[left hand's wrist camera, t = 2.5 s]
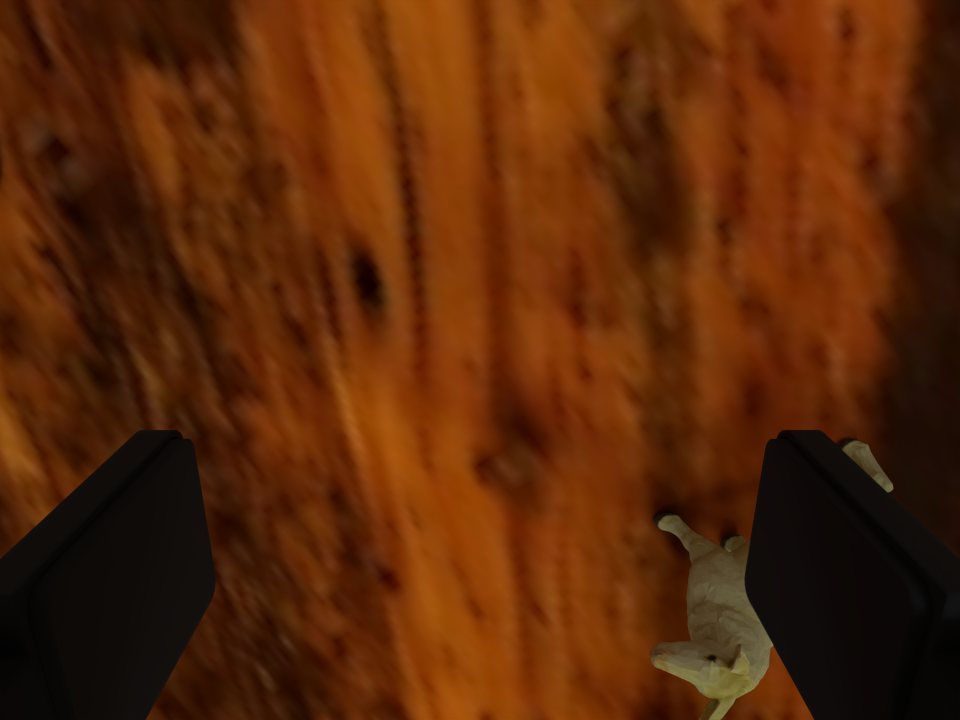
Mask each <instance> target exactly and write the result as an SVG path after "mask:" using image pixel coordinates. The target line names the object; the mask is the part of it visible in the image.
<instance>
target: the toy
mask: <svg viewBox="0 0 960 720" xmlns="http://www.w3.org/2000/svg"><path fill="white" fill-rule="evenodd" d="M838 447H840V448H841V449H842V450H843V451H844V452H845V453H846V454H847V455H848V456H849V457H850V458H851V459H852V460H854V461H855V462H856V463H857V464H858V465H859V466H860V467H861V468H862V469H863V470H864V471H865V472H866V473H867V474H869V475H870V476H871V477H872V478H873V479H874V480H875V481H876V482H877V483H878V484H879V485H880V486H881V487H883V488H884V489H885V490H886V491H887V492H891V490H892V489H893V484H892V483H891V481H890V480H889V479H888V477H887V476H886V475H885V473H884V472H883V470H882V469H881V468H880V466H879V465H878V463H877V462H876V460H875V458H874V457H873V455H872V453H871V452H870V449H869V446H868V444H865V443H862V442H859V441H856V440H852V439H847V440H845V441H843V442H841V444H840V445H839V446H838ZM654 523H655V525H656V526H657V527H658V528H660V529H662V530H665V531H669V532H672V533H673V534H675V535H676V536H677V537H678V538H680V539H681V541H682V543H683V545H684V547H685V548H686V549H687V550H688V551H689V554H690V560H691V562H692V565H691V568H690V572H689V578H688V587H687V606H688V608H687V614H688V624H687V625H688V628H689V634H690V635H691V640H690V641H685V642H672V643H671V642H660V643H658V644H657V645H656V646H654V647H653V648H652V650H651V651H650V658H651V661H652V664H653V665H654V666H655V667H657V668H660V669H662V670H664V671H667V672H669V673H671V674H673V675H676V676H678V677H680V678H682V679H684V680H687V681H689V682H691V683H692V684H693V685H695V686H696V688H697V689H698V690H699V692H700V693H702V694H703V695H705V696H706V697H708V698H713V700H712V701H711V702H710V703H708V704H707V706H706V707H705V709H704V711H703V713H702V714H701V716H700V718H699V720H720V719H721V718H722V717H723V716H724V715H725V714H726V712H727V711H728V710H729V708H730V707H731V706H732V704H733V703H734V701H735V699H736V698H738V697H740V696H742V695H744V694H746V693H748V692H749V691H751V690H753V689H754V688H755V687H756V685H757V684H758V683H759V681H760V680H761V679H762V677H763V676H764V674H765V672H766V670H767V668H768V666H769V655H770V648H771V647H772V646H773V644H772V642H771V640H770V638H769V636H768V635H767V633H766V631H765V629H764V627H763V625H762V624H761V622H760V620H759V618H758V616H757V615H756V613H755V611H754V609H753V607H752V605H751V604H750V602H749V600H748V598H747V595H746V591H745V583H744V577H745V570H746V564H747V558H748V551H749V545H750V539H749V540H748V541H747V542H746V540H745V539H744V537H743V535H728V536H726V537H725V538H724V539H723V540H722V541H721V544H720V545H721V546H722V548H721V547H720V546H718V545H717V544H715V543H713V542H712V541H711V540H708V539H705V538H704V537H703V536H701V535H699V534H696V533H695V532H694V531H692V530H691V529H690V528H689V527H688V526H687V525H686V524H685V523H684V522H683V521H682V520H681V519H680V517H679V516H677V515H674V514H671V513H667V512H666V513H662V514H659V515H657V516H656V517H655V519H654ZM723 548H724V549H723ZM725 549H726V550H725Z"/></svg>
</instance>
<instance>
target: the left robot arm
mask: <svg viewBox="0 0 960 720" xmlns="http://www.w3.org/2000/svg"><path fill="white" fill-rule="evenodd" d="M215 583H216V577H215V570H214V564H213V558H212V552H211V545H210V539H209V533H208V527H207V521H206V515H205V509H204V503H203V497H202V491H201V485H200V479H199V473H198V467H197V461H196V454H195V449H194V445H193V443H192V441H191V440H190V439H183V436H182V435H181V433H180V432H179V431H177V430H140V431H138V432H137V433H136V434H134V435H133V436H132V437H131V438H130V439H129V440H128V441H127V442H126V443H125V444H124V445H123V446H122V447H120V448H119V449H118V450H117V451H116V452H115V453H114V454H113V455H112V456H111V457H110V458H109V459H108V460H106V461H105V462H104V463H103V464H102V465H101V466H100V467H99V468H98V469H97V470H96V471H95V472H94V473H93V474H91V475H90V476H89V477H88V478H87V479H86V480H85V481H84V482H83V483H82V484H81V485H80V486H79V487H77V488H76V489H75V490H74V491H73V492H72V493H71V494H70V495H69V496H68V497H67V498H66V499H65V500H63V501H62V502H61V503H60V504H59V505H58V506H57V507H56V508H55V509H54V510H53V511H52V512H51V513H49V514H48V515H47V516H46V517H45V518H44V519H43V520H42V521H41V522H40V523H39V524H38V525H37V526H36V527H34V528H33V529H32V530H31V531H30V532H29V533H28V534H27V535H26V536H25V537H24V538H23V539H22V540H20V541H19V542H18V543H17V544H16V545H15V546H14V547H13V548H12V549H11V550H10V551H9V552H8V553H6V554H5V555H4V556H3V557H2V558H1V559H0V720H146V718H147V716H148V714H149V712H150V711H151V709H152V707H153V705H154V703H155V702H156V700H157V698H158V696H159V694H160V693H161V691H162V689H163V687H164V685H165V683H166V682H167V680H168V678H169V676H170V674H171V673H172V671H173V669H174V667H175V665H176V664H177V662H178V660H179V658H180V656H181V654H182V653H183V651H184V649H185V647H186V645H187V644H188V642H189V640H190V638H191V636H192V635H193V633H194V631H195V629H196V627H197V625H198V624H199V622H200V620H201V618H202V616H203V615H204V613H205V611H206V609H207V607H208V605H209V604H210V602H211V600H212V598H213V595H214V591H215ZM744 583H745V591H746V595H747V598H748V600H749V602H750V604H751V605H752V607H753V609H754V611H755V613H756V615H757V616H758V618H759V620H760V622H761V624H762V625H763V627H764V629H765V631H766V633H767V635H768V636H769V638H770V640H771V642H772V644H773V645H774V647H775V649H776V651H777V653H778V654H779V656H780V658H781V660H782V662H783V664H784V665H785V667H786V669H787V671H788V673H789V674H790V676H791V678H792V680H793V682H794V683H795V685H796V687H797V689H798V691H799V693H800V694H801V696H802V698H803V700H804V702H805V703H806V705H807V707H808V709H809V711H810V712H811V714H812V716H813V718H814V720H960V559H959V558H958V557H957V556H956V555H955V554H954V553H952V552H951V551H950V550H949V549H948V548H947V547H946V546H945V545H944V544H943V543H942V542H941V541H940V540H938V539H937V538H936V537H935V536H934V535H933V534H932V533H931V532H930V531H929V530H928V529H927V528H926V527H924V526H923V525H922V524H921V523H920V522H919V521H918V520H917V519H916V518H915V517H914V516H913V515H912V514H911V513H909V512H908V511H907V510H906V509H905V508H904V507H903V506H902V505H901V504H900V503H899V502H898V501H897V500H895V499H894V498H893V497H892V496H891V495H890V494H889V493H888V492H887V491H886V490H885V489H884V488H883V487H881V486H880V485H879V484H878V483H877V482H876V481H875V480H874V479H873V478H872V477H871V476H870V475H869V474H867V473H866V472H865V471H864V470H863V469H862V468H861V467H860V466H859V465H858V464H857V463H856V462H855V461H854V460H852V459H851V458H850V457H849V456H848V455H847V454H846V453H845V452H844V451H843V450H842V449H841V448H840V447H838V446H837V445H836V444H835V443H834V442H833V441H832V440H831V439H830V438H829V437H828V436H827V435H826V434H824V433H823V432H822V431H820V430H783V431H781V432H780V433H779V435H778V436H777V439H770V440H769V441H768V443H767V445H766V449H765V454H764V461H763V467H762V473H761V479H760V485H759V491H758V497H757V503H756V509H755V515H754V521H753V527H752V533H751V539H750V545H749V551H748V558H747V564H746V570H745V577H744Z"/></svg>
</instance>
